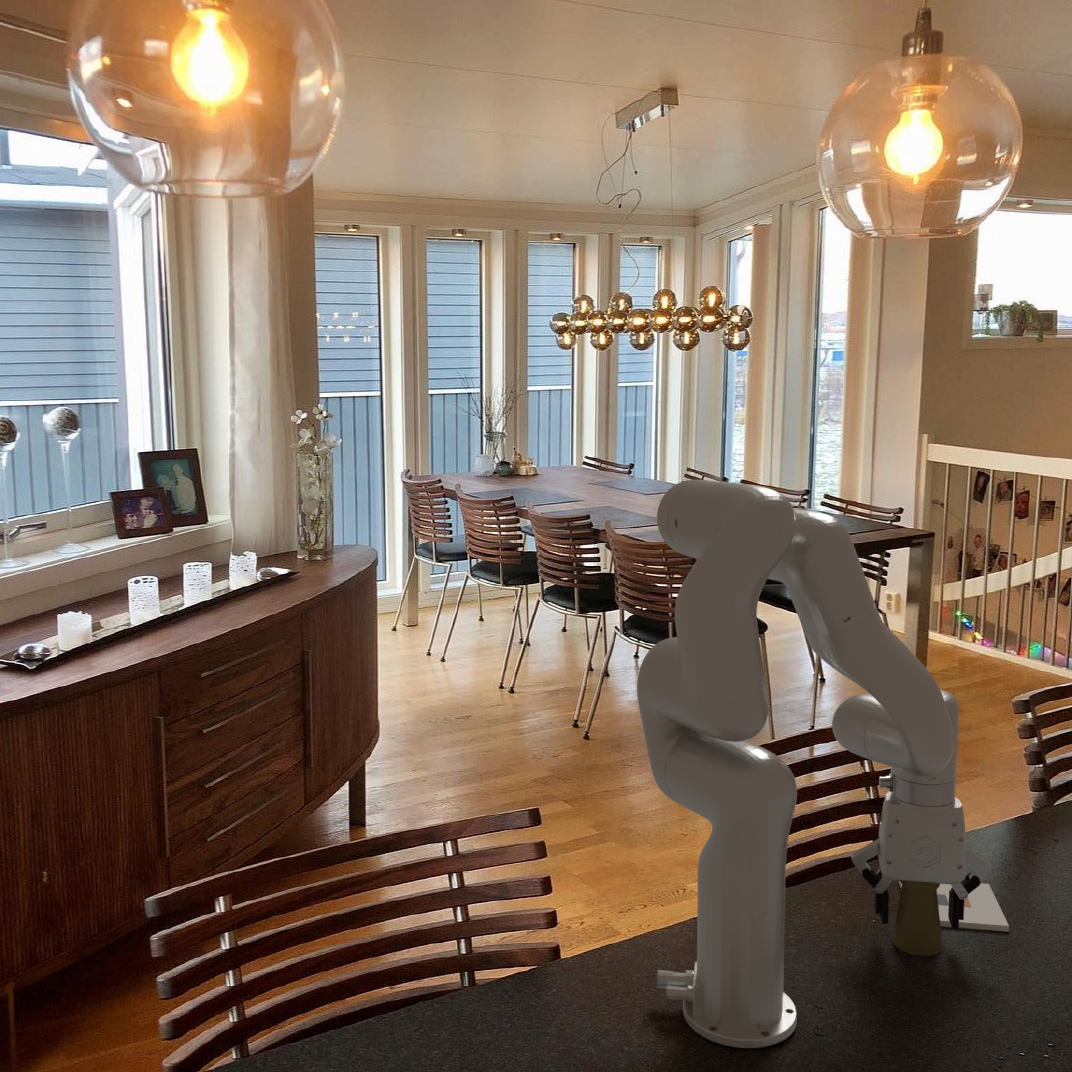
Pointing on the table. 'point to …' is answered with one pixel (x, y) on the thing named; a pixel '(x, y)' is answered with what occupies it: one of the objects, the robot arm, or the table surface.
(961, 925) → the tile
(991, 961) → the table surface
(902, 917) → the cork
